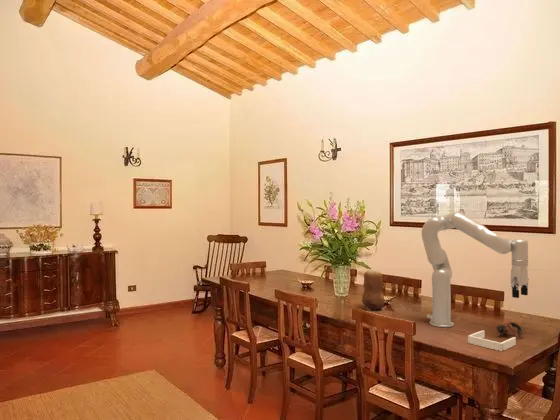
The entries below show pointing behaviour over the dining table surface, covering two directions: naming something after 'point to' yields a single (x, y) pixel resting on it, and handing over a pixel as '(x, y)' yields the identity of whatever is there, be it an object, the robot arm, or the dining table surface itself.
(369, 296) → the butternut squash
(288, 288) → the dining table surface
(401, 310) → the dining table surface
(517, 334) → the pottery mug
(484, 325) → the dining table surface
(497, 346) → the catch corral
